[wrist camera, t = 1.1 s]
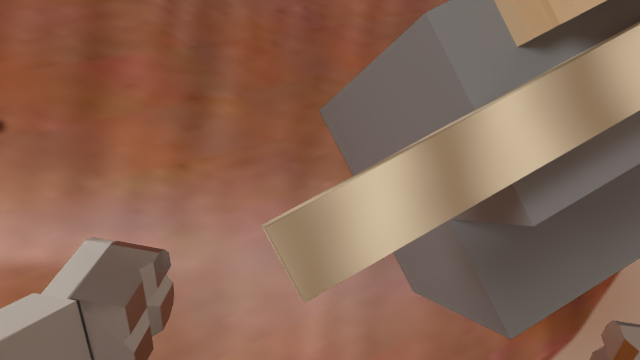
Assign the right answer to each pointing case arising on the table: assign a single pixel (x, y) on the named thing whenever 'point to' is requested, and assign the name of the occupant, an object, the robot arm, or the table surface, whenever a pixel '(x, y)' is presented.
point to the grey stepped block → (521, 196)
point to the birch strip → (457, 166)
